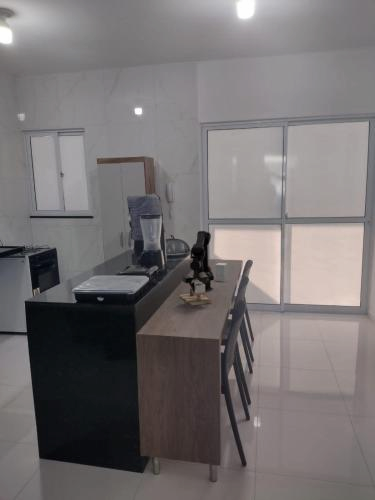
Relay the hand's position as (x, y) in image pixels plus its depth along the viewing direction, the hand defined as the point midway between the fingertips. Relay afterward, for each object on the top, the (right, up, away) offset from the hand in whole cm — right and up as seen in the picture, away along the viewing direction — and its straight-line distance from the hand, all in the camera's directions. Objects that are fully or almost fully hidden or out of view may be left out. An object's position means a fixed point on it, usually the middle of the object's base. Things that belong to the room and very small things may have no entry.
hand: (198, 292), depth 225 cm
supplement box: (+19, +3, +52) cm, 55 cm away
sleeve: (0, -1, 0) cm, 1 cm away
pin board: (-2, -5, +5) cm, 8 cm away
